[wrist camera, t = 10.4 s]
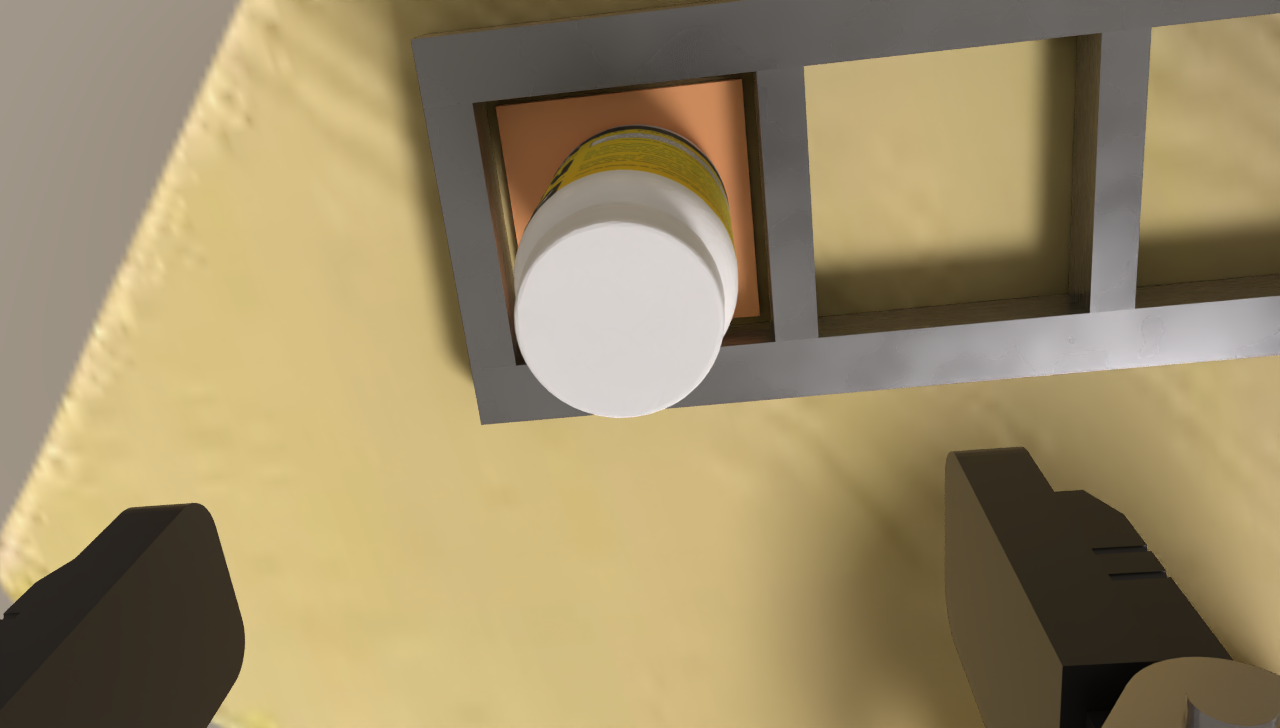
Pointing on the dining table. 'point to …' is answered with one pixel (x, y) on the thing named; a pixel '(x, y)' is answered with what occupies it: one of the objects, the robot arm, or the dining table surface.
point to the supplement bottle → (627, 273)
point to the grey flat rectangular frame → (776, 54)
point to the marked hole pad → (691, 110)
